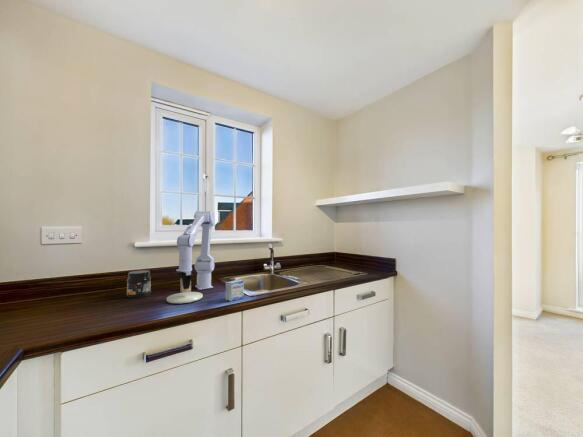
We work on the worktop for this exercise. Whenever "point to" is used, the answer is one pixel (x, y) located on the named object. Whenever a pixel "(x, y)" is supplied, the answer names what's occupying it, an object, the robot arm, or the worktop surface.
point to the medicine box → (234, 290)
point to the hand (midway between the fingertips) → (185, 287)
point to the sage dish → (184, 297)
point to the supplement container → (138, 284)
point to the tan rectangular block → (183, 288)
